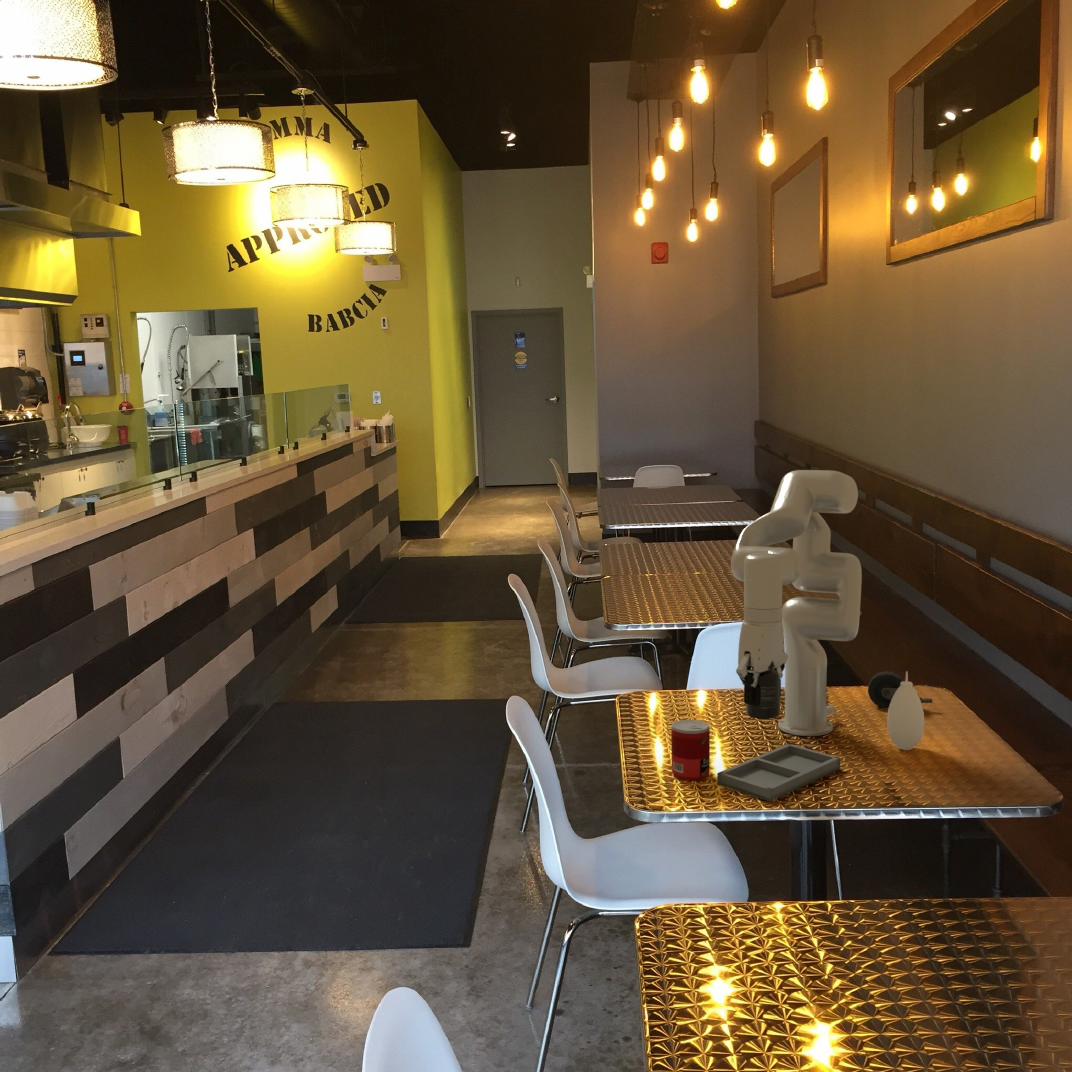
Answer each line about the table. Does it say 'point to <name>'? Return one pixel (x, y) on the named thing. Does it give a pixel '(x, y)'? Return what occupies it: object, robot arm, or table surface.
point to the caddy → (778, 772)
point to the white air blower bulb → (905, 717)
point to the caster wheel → (886, 689)
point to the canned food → (690, 750)
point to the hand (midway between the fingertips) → (762, 699)
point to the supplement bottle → (766, 695)
